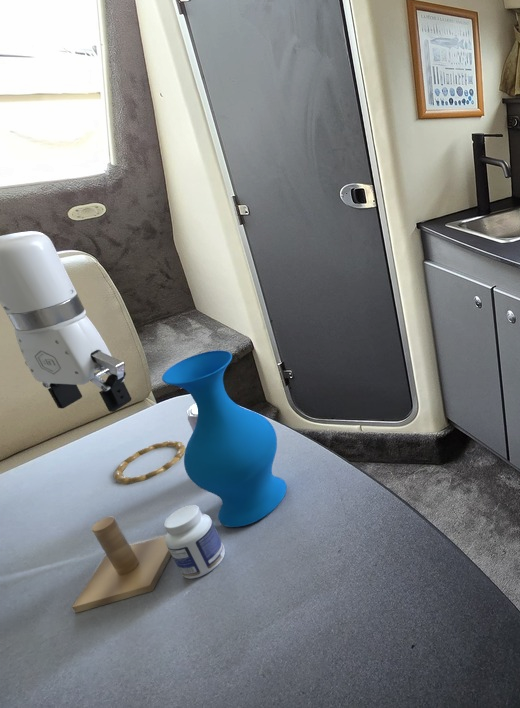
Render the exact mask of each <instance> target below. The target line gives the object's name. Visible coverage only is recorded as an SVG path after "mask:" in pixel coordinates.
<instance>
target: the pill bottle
mask: <svg viewBox="0 0 520 708" xmlns="http://www.w3.org/2000/svg"><path fill="white" fill-rule="evenodd" d="M163 525H164V529H165V530H166V531H165V532H166V535H165V536H166V538H165V543H166V546H167V547H168V549H169V551H170V553H171V557H172V559H173V561H174V562H175V564H176V566H177V568H178V570H179V571H180V573H181V576H183V577H184V578H186V579H190V580H191V579H197V578H201V577H203V576H204V575H207V574H209V573H210V572H211V571H213V570H214V569H216V568H217V567H218V566H219V565H220V564H221V563H222V561H223V560H224V558H225V555H226V548H225V546H224V544H223V541H222V540H221V536H220V535H219V533H218V531H217V529H216V526H215V524H214V522H213V520H212V518H211V517H210V516H209V514H206V513H202V511H201V509H200V508H199V506H197V505H196V504H189V505H184V506H182V507H179V508H178V509H176V510H175V511H173V512H172V513H170V514H169V515H168V516H167V517H166V519H165V520H164V524H163Z"/></svg>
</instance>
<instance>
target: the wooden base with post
mask: <svg viewBox="0 0 520 708" xmlns="http://www.w3.org/2000/svg"><path fill="white" fill-rule="evenodd" d="M91 532H92V533H93V535H94V537H95V538H96V540H97V541H98V543H99V545H100V547H101V548H102V550H103V551H104V553H105V556H104V557H103V559H102V561H101V562H100V564H99V565H98V566H97V568H96V570H95V571H94V573H92V576H91V577H90V579H89V580H88V582H87V584H86V585H85V587H84V588H83V590H82V591H81V593H80V594H79V596H78V598H76V600H75V601H74V604H73V605H72V606H71V608H72V610H73V612H74V613H75V614H78V613H81V612H85V611H87V610H91V609H95V608H97V607H101V606H105V605H108V604H112V603H115V602H118V601H122V600H125V599H129V598H133V597H136V596H139V595H143V594H146V593H150V592H153V591H154V590H155V588H156V586H157V584H158V583H159V580H160V578H161V576H162V574H163V573H164V570H165V569H166V566H167V564H168V562H169V561H170V559H171V557H172V555H171V553H170V551H169V549H168V547H167V546H166V543H165V538H166V535H165V536H161V537H158V538H154V539H149V540H146V541H141V542H138V543H134V544H131V545H130V543H129V541H128V539H127V538H126V536H125V533H124V532H123V530H122V529H121V527H120V525H119V524H118V522H117V520H116V518H115V517H114V516H107V517H103V518H102V519H100V520H98V521H97V522H95V523H94V524H93V525H92V527H91Z"/></svg>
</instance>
